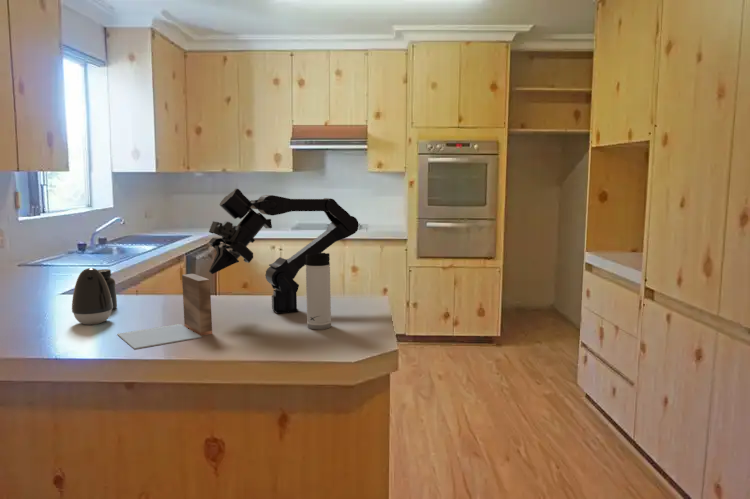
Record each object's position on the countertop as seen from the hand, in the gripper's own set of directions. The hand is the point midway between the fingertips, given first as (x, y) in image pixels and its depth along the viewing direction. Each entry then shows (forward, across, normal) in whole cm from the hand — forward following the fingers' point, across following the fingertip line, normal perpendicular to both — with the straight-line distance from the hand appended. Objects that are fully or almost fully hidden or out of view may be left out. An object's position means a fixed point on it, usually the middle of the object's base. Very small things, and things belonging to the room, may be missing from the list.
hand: (210, 272), depth 160 cm
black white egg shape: (+28, -20, -9) cm, 36 cm away
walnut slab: (+14, +6, +5) cm, 16 cm away
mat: (+21, +6, -2) cm, 22 cm away
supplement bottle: (+24, -36, -4) cm, 43 cm away
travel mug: (-4, +24, +24) cm, 34 cm away
